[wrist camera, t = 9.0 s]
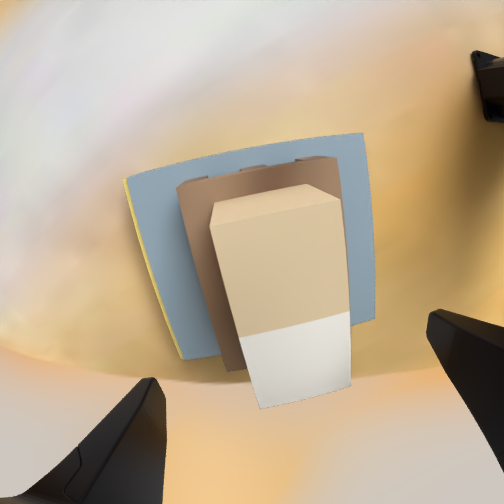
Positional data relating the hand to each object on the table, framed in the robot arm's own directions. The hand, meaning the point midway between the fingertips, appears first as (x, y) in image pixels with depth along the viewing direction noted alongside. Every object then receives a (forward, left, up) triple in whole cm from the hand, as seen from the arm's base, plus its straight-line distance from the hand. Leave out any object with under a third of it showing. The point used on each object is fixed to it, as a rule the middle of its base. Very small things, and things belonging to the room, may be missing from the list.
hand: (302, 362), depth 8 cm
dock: (0, 0, -12) cm, 12 cm away
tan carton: (0, -2, -6) cm, 6 cm away
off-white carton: (0, +2, -6) cm, 6 cm away
